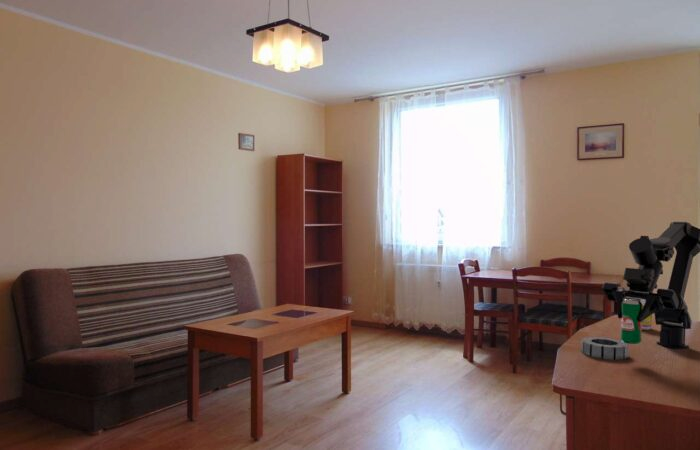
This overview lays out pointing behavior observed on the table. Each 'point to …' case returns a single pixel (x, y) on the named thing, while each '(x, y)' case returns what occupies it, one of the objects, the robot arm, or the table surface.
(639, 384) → the table surface
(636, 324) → the soda can
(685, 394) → the table surface
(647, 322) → the supplement bottle
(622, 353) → the ring
